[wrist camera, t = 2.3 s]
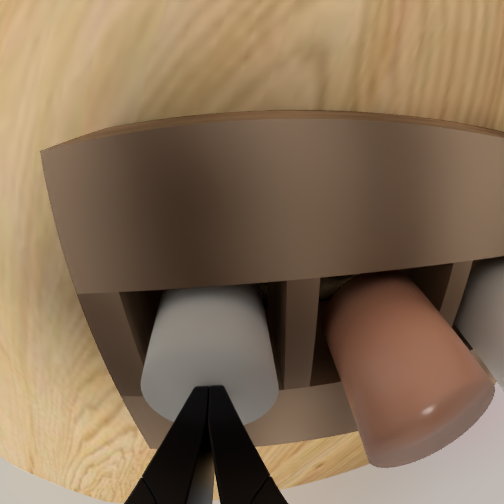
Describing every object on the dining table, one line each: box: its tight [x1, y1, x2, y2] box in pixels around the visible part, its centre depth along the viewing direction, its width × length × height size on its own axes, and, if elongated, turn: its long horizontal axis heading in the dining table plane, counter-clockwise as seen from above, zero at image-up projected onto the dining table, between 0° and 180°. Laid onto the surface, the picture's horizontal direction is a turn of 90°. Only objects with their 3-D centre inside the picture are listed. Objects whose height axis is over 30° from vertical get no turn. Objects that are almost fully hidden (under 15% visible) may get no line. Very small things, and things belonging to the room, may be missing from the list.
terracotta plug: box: [322, 270, 495, 468], centre depth 9 cm, size 4×4×6 cm
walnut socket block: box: [40, 110, 504, 449], centre depth 13 cm, size 20×14×6 cm
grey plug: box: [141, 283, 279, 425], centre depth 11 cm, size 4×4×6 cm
